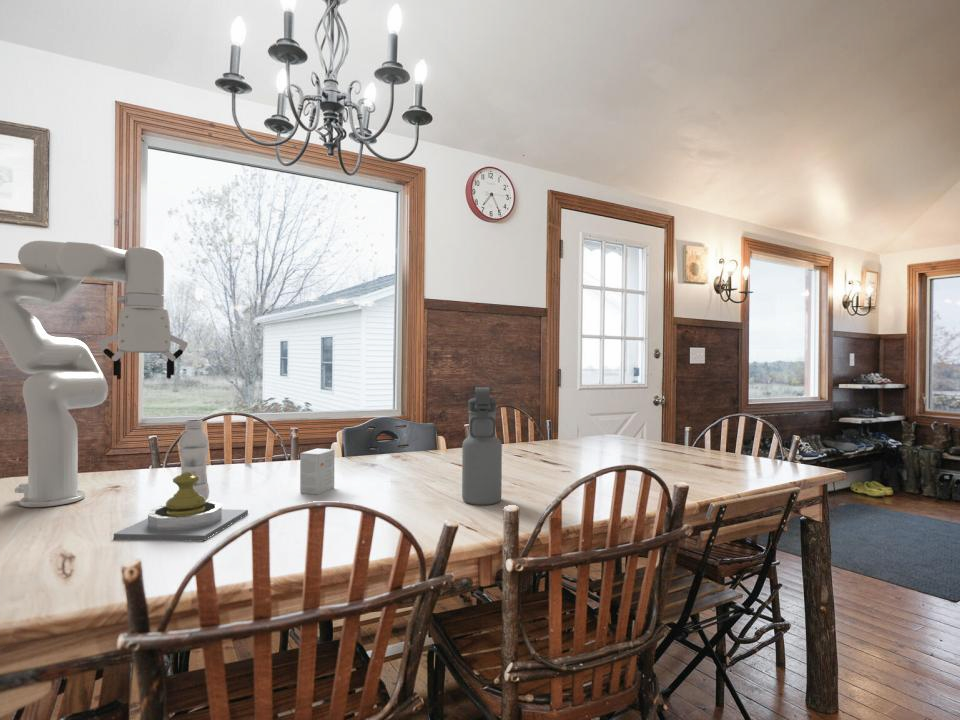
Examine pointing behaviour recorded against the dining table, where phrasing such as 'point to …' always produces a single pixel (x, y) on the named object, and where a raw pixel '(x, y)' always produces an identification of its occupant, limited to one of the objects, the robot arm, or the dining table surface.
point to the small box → (316, 471)
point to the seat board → (201, 533)
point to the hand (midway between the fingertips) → (144, 378)
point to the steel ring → (184, 518)
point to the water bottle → (482, 453)
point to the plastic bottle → (195, 454)
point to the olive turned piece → (185, 497)
